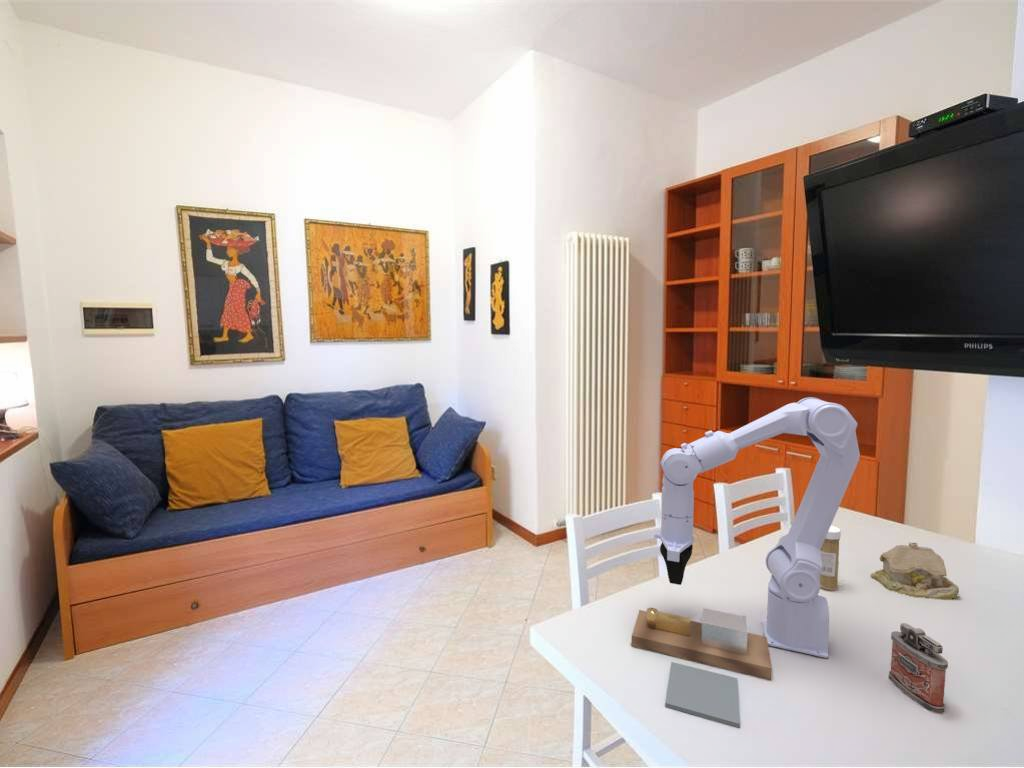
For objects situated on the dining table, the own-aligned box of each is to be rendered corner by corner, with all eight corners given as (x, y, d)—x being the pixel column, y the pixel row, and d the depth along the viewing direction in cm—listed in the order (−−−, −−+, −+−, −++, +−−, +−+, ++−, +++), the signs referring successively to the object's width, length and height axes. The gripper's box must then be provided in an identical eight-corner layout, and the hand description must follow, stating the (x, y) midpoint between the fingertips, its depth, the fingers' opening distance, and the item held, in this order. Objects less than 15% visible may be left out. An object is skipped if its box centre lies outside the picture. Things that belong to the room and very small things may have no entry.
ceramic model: (883, 593, 102) (886, 548, 102) (865, 570, 113) (867, 529, 112) (966, 605, 98) (969, 558, 97) (938, 580, 108) (941, 537, 107)
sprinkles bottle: (841, 587, 105) (844, 528, 104) (832, 593, 102) (835, 533, 101) (819, 579, 109) (821, 522, 108) (809, 584, 106) (811, 526, 105)
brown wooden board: (766, 647, 84) (766, 636, 84) (771, 680, 76) (771, 668, 76) (639, 619, 93) (639, 609, 93) (631, 646, 85) (631, 635, 84)
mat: (737, 681, 76) (737, 678, 75) (739, 728, 66) (739, 723, 66) (671, 665, 80) (671, 661, 79) (665, 706, 70) (665, 702, 70)
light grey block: (745, 638, 83) (745, 616, 83) (746, 655, 79) (747, 632, 79) (702, 629, 86) (702, 608, 86) (701, 645, 82) (702, 622, 81)
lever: (646, 626, 87) (646, 612, 87) (647, 621, 89) (647, 606, 88) (689, 636, 84) (690, 621, 84) (690, 630, 86) (690, 615, 85)
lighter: (882, 676, 77) (885, 616, 76) (901, 674, 77) (905, 615, 76) (930, 714, 69) (934, 648, 68) (951, 712, 69) (956, 647, 68)
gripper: (659, 499, 98) (658, 562, 99) (650, 523, 84) (648, 596, 85) (696, 503, 95) (694, 568, 96) (692, 528, 82) (690, 604, 83)
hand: (675, 582), depth 90 cm, fingers closed
